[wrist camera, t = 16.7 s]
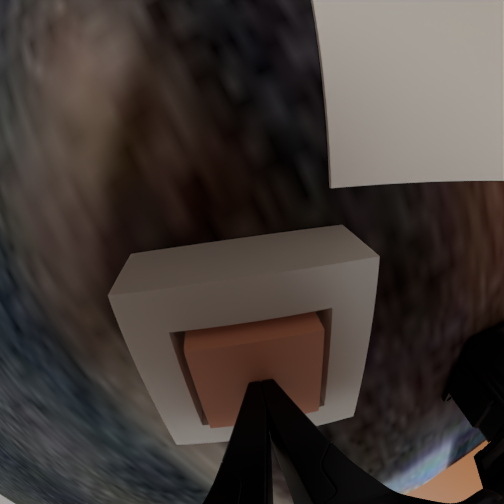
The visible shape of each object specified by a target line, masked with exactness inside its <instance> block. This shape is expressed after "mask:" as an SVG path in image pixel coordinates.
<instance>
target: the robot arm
mask: <svg viewBox="0 0 504 504" xmlns="http://www.w3.org/2000/svg"><path fill="white" fill-rule="evenodd" d="M442 400H443V401H444V403H448V402H450V401H452V400H454V401H455V403H456V404H457V405H458V407H459V408H460V410H461V411H462V412H463V414H464V415H465V417H466V418H467V420H468V421H469V422H470V424H471V425H472V427H473V428H475V429H476V428H479V430H480V431H481V433H482V434H483V436H484V437H485V438H486V440H487V441H488V442H490V441H491V442H490V443H489V444H488V445H487V446H486V447H484V449H482V450H480V451H479V452H478V453H477V454H476V455H475V456H474V460H475V463H476V465H477V469H478V473H479V476H480V479H481V483H482V486H483V489H481V490H480V491H478V492H476V493H475V494H473V495H472V496H471V497H469V498H467V499H466V500H464V501H462V502H458V503H451V504H504V322H503V323H501V324H499V325H497V326H495V327H493V328H491V329H489V330H487V331H485V332H483V333H481V334H479V335H476V336H474V337H472V338H471V339H470V340H469V341H468V342H467V343H466V345H465V348H464V350H463V353H462V355H461V358H460V360H459V363H458V365H457V367H456V370H455V372H454V374H453V376H452V379H451V381H450V383H449V385H448V387H447V389H446V391H445V393H444V395H443V397H442ZM270 437H271V440H272V443H273V446H274V449H275V452H276V455H277V458H278V461H279V463H280V466H281V469H282V472H283V475H284V477H285V480H286V483H287V486H288V488H289V491H290V494H291V496H292V499H293V502H294V504H450V503H441V502H435V501H430V500H425V499H420V498H415V497H411V496H407V495H403V494H400V493H397V492H395V491H393V490H391V489H389V488H388V487H386V486H385V485H383V484H382V483H380V482H379V481H377V480H376V479H375V478H373V477H372V476H370V475H369V474H368V473H366V472H365V471H363V470H362V469H361V468H359V467H358V466H357V465H356V464H354V463H353V462H352V461H351V460H349V459H348V458H347V457H346V456H345V455H344V454H343V453H342V452H341V451H340V450H339V449H338V448H337V447H336V446H335V445H334V444H333V443H331V441H330V440H329V439H328V438H327V437H326V436H325V435H324V434H323V433H322V432H321V431H320V430H319V429H318V428H317V426H316V425H315V424H314V423H313V422H312V421H311V420H310V419H309V418H308V417H307V416H306V415H305V414H304V412H303V411H302V410H301V409H300V408H299V407H298V406H297V405H296V404H295V402H294V401H293V400H292V399H291V398H290V397H289V396H288V395H287V394H286V392H285V391H284V390H283V389H282V388H281V387H280V386H279V384H278V383H277V382H276V381H275V380H274V379H266V380H262V381H261V382H260V381H254V382H249V383H248V385H247V388H246V391H245V394H244V398H243V401H242V404H241V407H240V410H239V413H238V416H237V419H236V422H235V425H234V428H233V431H232V434H231V437H230V440H229V442H228V445H227V448H226V451H225V454H224V457H223V460H222V461H223V462H222V463H221V465H220V468H219V471H218V473H217V476H216V478H215V481H214V483H213V485H212V487H211V489H210V491H209V493H208V495H207V497H206V499H205V501H204V502H203V504H273V485H272V461H271V441H270Z"/></svg>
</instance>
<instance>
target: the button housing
mask: <svg viewBox="0 0 504 504" xmlns="http://www.w3.org/2000/svg"><path fill="white" fill-rule="evenodd" d="M379 259H380V256H379V255H378V254H376V253H375V252H374V251H373V250H372V249H371V248H369V247H368V246H367V245H366V244H365V243H364V242H362V241H361V240H360V239H359V238H358V237H357V236H355V235H354V234H353V233H352V232H351V231H349V230H348V229H347V228H346V227H344V226H343V225H335V226H327V227H320V228H312V229H304V230H296V231H289V232H281V233H274V234H266V235H259V236H251V237H244V238H237V239H230V240H223V241H215V242H208V243H201V244H194V245H187V246H181V247H174V248H167V249H160V250H153V251H147V252H140V253H133V254H131V255H130V256H129V258H128V260H127V261H126V263H125V265H124V267H123V268H122V270H121V272H120V274H119V276H118V277H117V279H116V281H115V283H114V285H113V287H112V288H111V290H110V292H109V294H108V298H109V301H110V303H111V306H112V309H113V312H114V314H115V317H116V320H117V322H118V325H119V327H120V330H121V332H122V335H123V337H124V340H125V342H126V344H127V347H128V349H129V351H130V354H131V356H132V358H133V361H134V363H135V365H136V367H137V369H138V372H139V374H140V376H141V378H142V380H143V382H144V384H145V386H146V388H147V390H148V392H149V394H150V396H151V398H152V400H153V402H154V404H155V406H156V408H157V410H158V412H159V414H160V416H161V418H162V419H163V421H164V423H165V425H166V427H167V429H168V430H169V432H170V434H171V436H172V437H173V439H174V441H175V442H176V444H177V445H183V444H201V443H213V442H224V441H229V440H230V437H231V434H232V431H233V428H234V426H229V427H220V428H210V426H209V423H208V420H207V418H206V415H205V412H204V410H203V407H202V404H201V401H200V399H199V396H198V393H197V390H196V387H195V384H194V381H193V379H192V376H191V373H190V370H189V366H188V363H187V360H186V357H185V354H184V341H185V331H187V330H196V329H204V328H212V327H219V326H227V325H234V324H241V323H248V322H254V321H261V320H267V319H273V318H280V317H285V316H291V315H297V314H303V313H308V312H313V311H315V312H316V314H317V316H318V318H319V320H320V322H321V324H322V325H323V327H324V329H325V332H324V350H323V365H322V379H321V391H320V402H319V411H316V412H311V413H307V414H305V415H306V416H307V417H308V418H309V419H310V420H311V421H312V422H313V423H314V424H315V425H316V426H318V425H322V424H326V423H330V422H334V421H338V420H341V419H345V418H349V417H352V416H354V412H355V408H356V403H357V399H358V395H359V390H360V386H361V381H362V376H363V372H364V367H365V361H366V356H367V351H368V345H369V339H370V333H371V326H372V320H373V313H374V305H375V298H376V289H377V280H378V270H379Z"/></svg>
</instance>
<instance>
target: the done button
mask: <svg viewBox="0 0 504 504" xmlns="http://www.w3.org/2000/svg"><path fill="white" fill-rule="evenodd" d="M324 332H325V329H324V327H323V325H322V324H321V322H320V320H319V318H318V316H317V314H316V312H315V311H313V312H308V313H303V314H297V315H291V316H285V317H280V318H273V319H267V320H261V321H254V322H248V323H241V324H234V325H227V326H219V327H212V328H204V329H196V330H187V331H185V341H184V354H185V357H186V360H187V363H188V366H189V370H190V373H191V376H192V379H193V381H194V384H195V387H196V390H197V393H198V396H199V399H200V401H201V404H202V407H203V410H204V412H205V415H206V418H207V420H208V423H209V426H210V428H220V427H229V426H234V425H235V422H236V419H237V416H238V413H239V410H240V407H241V404H242V401H243V398H244V394H245V391H246V388H247V385H248V383H249V382H254V381H260V382H261V381H262V380H266V379H274V380H275V381H276V382H277V383H278V384H279V386H280V387H281V388H282V389H283V390H284V391H285V392H286V394H287V395H288V396H289V397H290V398H291V399H292V400H293V401H294V402H295V404H296V405H297V406H298V407H299V408H300V409H301V410H302V411H303V412H304V414H307V413H311V412H316V411H319V402H320V391H321V379H322V365H323V350H324Z"/></svg>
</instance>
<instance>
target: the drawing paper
mask: <svg viewBox="0 0 504 504" xmlns="http://www.w3.org/2000/svg"><path fill="white" fill-rule="evenodd" d="M311 4H312V10H313V16H314V23H315V29H316V36H317V43H318V51H319V59H320V67H321V76H322V86H323V96H324V107H325V119H326V132H327V148H328V167H329V187H330V188H340V187H353V186H366V185H381V184H397V183H416V182H441V181H504V0H311Z"/></svg>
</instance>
